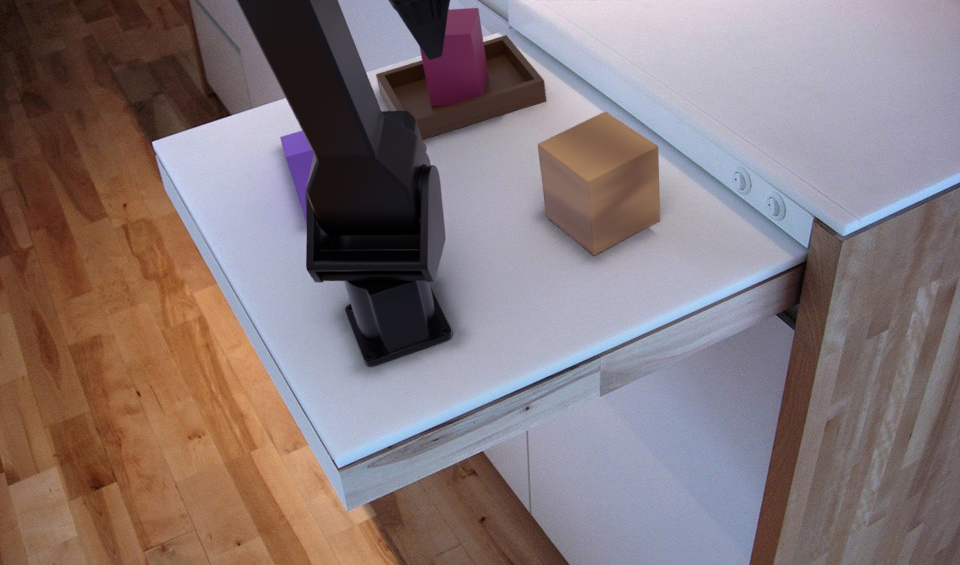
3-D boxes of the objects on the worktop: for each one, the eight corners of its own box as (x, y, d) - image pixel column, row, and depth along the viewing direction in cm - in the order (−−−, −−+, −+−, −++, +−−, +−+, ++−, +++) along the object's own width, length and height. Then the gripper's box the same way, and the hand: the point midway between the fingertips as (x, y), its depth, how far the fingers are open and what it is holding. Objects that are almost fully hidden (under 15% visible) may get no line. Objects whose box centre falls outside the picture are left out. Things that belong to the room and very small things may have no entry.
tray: (546, 100, 94) (544, 80, 92) (408, 144, 92) (403, 123, 90) (509, 54, 101) (506, 34, 100) (380, 93, 99) (375, 73, 97)
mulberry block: (482, 104, 94) (470, 33, 89) (431, 106, 95) (417, 36, 90) (488, 76, 97) (478, 7, 93) (439, 79, 98) (426, 10, 94)
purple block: (386, 201, 86) (369, 132, 81) (307, 225, 85) (285, 157, 80) (356, 130, 95) (339, 65, 90) (284, 150, 94) (263, 86, 89)
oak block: (593, 256, 77) (587, 181, 72) (545, 216, 81) (536, 143, 77) (660, 220, 79) (658, 145, 74) (610, 183, 83) (605, 110, 79)
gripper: (538, -167, 64) (559, 54, 74) (445, -235, 77) (474, -40, 88) (368, -122, 62) (414, 99, 72) (304, -199, 76) (350, -4, 86)
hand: (417, 32), depth 80 cm, fingers open, 9 cm apart
